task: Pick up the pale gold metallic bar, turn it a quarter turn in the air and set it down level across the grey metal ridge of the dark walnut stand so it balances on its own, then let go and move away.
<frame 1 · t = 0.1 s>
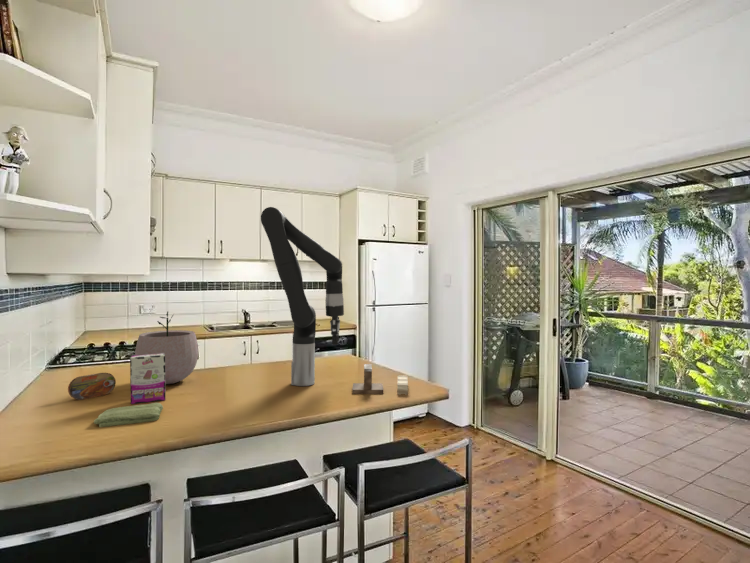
hand: (335, 342, 181), 17 cm above the countertop, tool pointing down, fingers open, 8 cm apart
candy bar box: (148, 401, 154), on the countertop
washcloth: (130, 420, 135), on the countertop
plant pot: (167, 383, 180), on the countertop
pale gold metallic bar: (402, 389, 173), on the countertop
balance stand: (367, 390, 171), on the countertop
tin: (92, 397, 159), on the countertop
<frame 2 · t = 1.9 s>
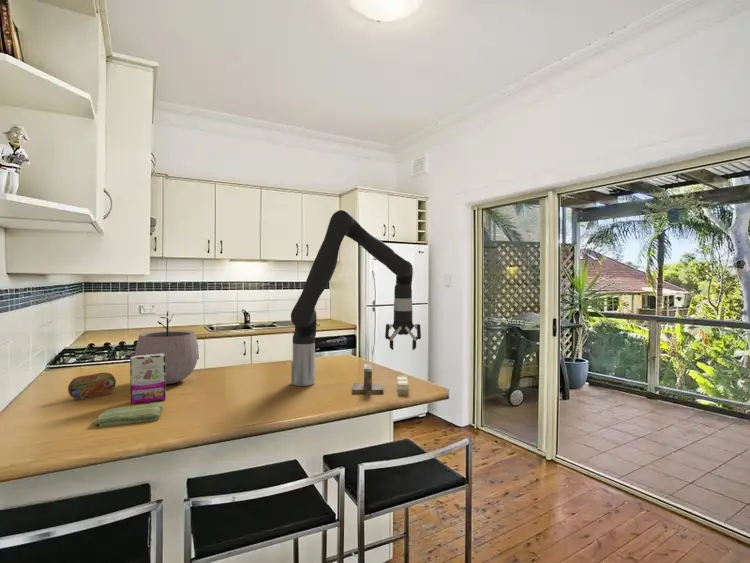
hand: (402, 349, 173), 16 cm above the countertop, tool pointing down, fingers open, 8 cm apart
nothing on the countertop moved.
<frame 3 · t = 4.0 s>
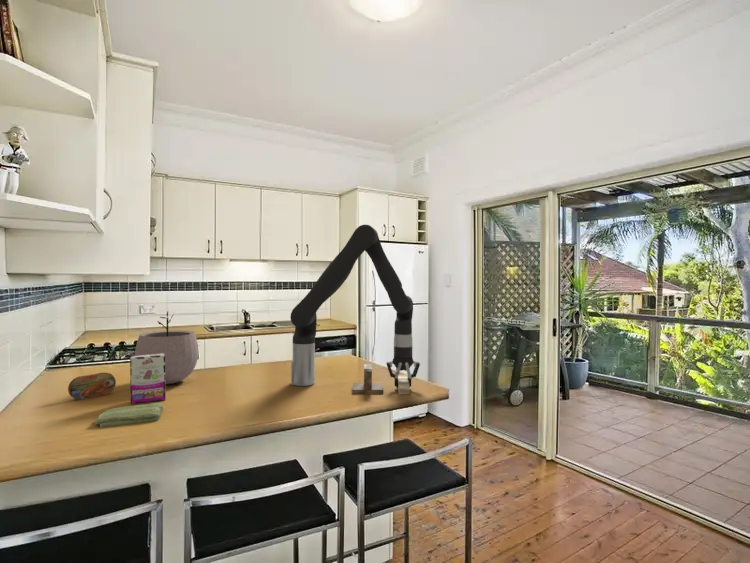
hand: (402, 387, 173), 1 cm above the countertop, tool pointing down, fingers closed on pale gold metallic bar, 4 cm apart
pale gold metallic bar: (402, 389, 173), on the countertop, touching gripper
everything else where it was.
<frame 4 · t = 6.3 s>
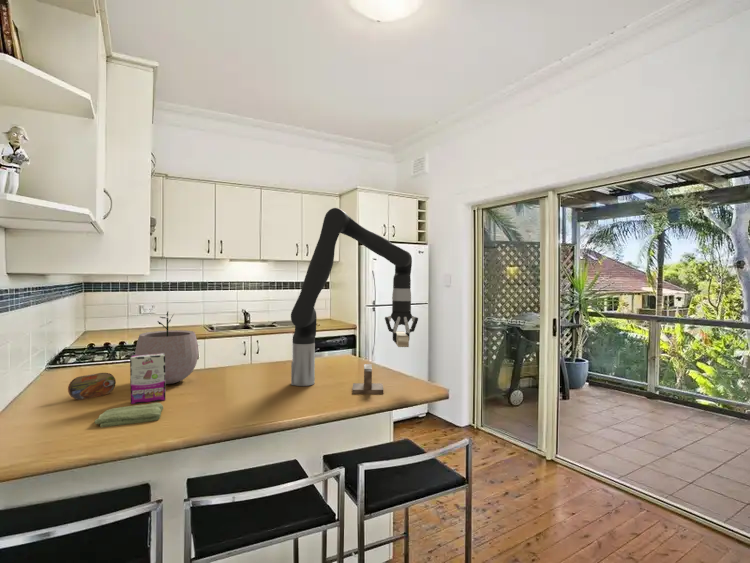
hand: (401, 342, 173), 19 cm above the countertop, tool pointing down, fingers closed on pale gold metallic bar, 4 cm apart
pale gold metallic bar: (400, 343, 173), point 18 cm above the countertop, touching gripper
everything else where it was.
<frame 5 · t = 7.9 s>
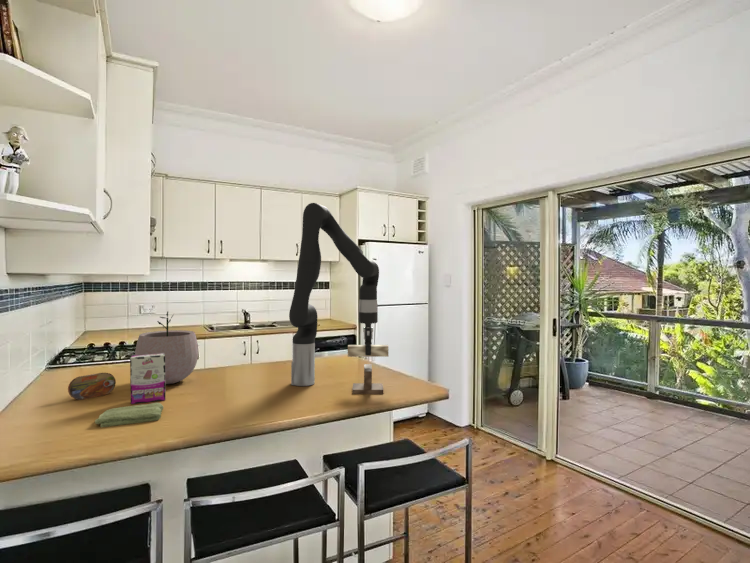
hand: (368, 353, 171), 15 cm above the countertop, tool pointing down, fingers closed on pale gold metallic bar, 4 cm apart
pale gold metallic bar: (368, 355, 171), point 14 cm above the countertop, touching gripper
everything else where it was.
when the fingers open (11 cm above the countertop, at t = 9.0 s): pale gold metallic bar stays where it is, resting on balance stand.
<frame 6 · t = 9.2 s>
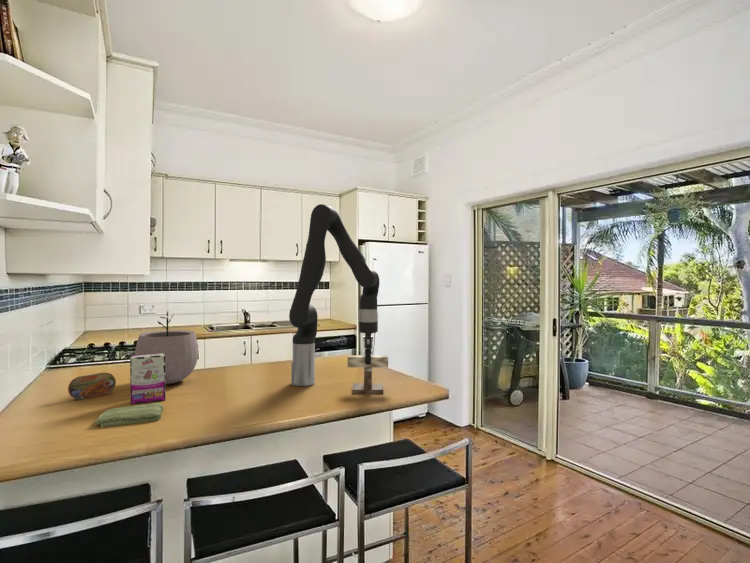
hand: (368, 362, 171), 11 cm above the countertop, tool pointing down, fingers open, 6 cm apart
pale gold metallic bar: (367, 366, 171), point 9 cm above the countertop, touching balance stand
everything else where it was.
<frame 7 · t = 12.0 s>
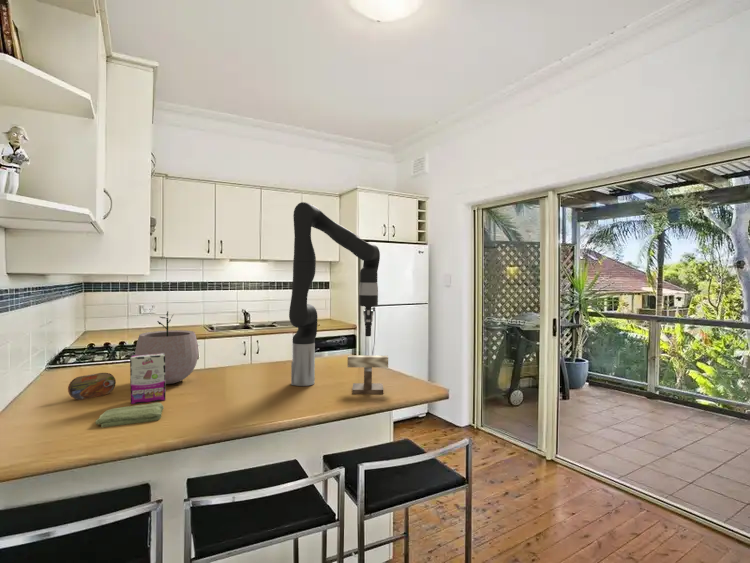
hand: (368, 334, 171), 22 cm above the countertop, tool pointing down, fingers open, 8 cm apart
nothing on the countertop moved.
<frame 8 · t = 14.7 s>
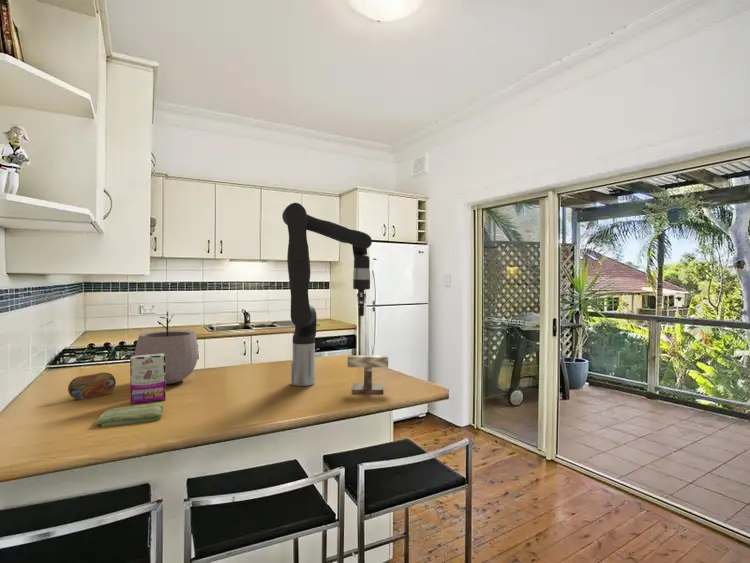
hand: (361, 315, 191), 28 cm above the countertop, tool pointing down, fingers open, 8 cm apart
nothing on the countertop moved.
at the end: pale gold metallic bar 0.0 cm from the target spot, point 9.5 cm above the countertop; pale gold metallic bar tilted 0°; the gripper is holding nothing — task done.
